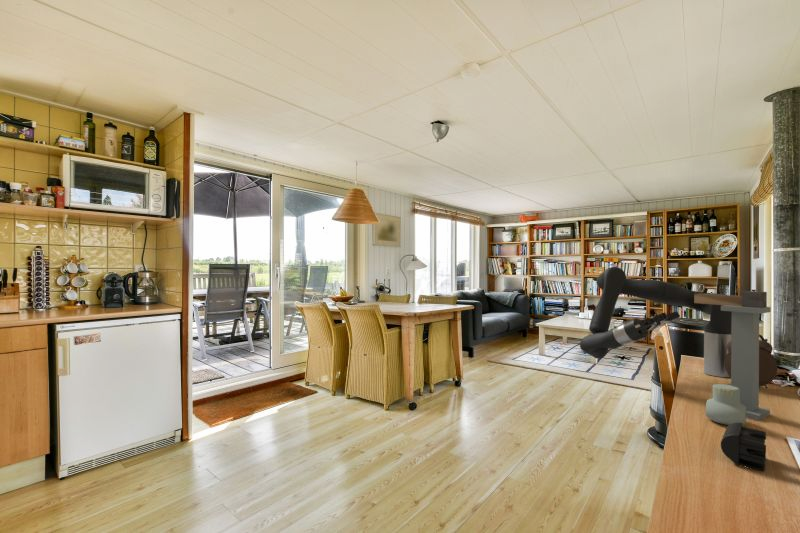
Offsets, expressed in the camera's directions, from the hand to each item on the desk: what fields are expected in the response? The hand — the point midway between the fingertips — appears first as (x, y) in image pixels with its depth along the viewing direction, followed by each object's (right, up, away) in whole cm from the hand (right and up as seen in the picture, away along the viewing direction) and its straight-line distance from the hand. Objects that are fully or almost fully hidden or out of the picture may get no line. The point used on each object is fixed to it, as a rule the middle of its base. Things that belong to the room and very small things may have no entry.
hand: (672, 314), depth 132 cm
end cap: (-16, -27, -45) cm, 55 cm away
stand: (+10, -27, -17) cm, 34 cm away
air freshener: (-2, -28, -24) cm, 37 cm away
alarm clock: (+35, -28, +9) cm, 46 cm away
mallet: (+8, +5, -13) cm, 16 cm away
